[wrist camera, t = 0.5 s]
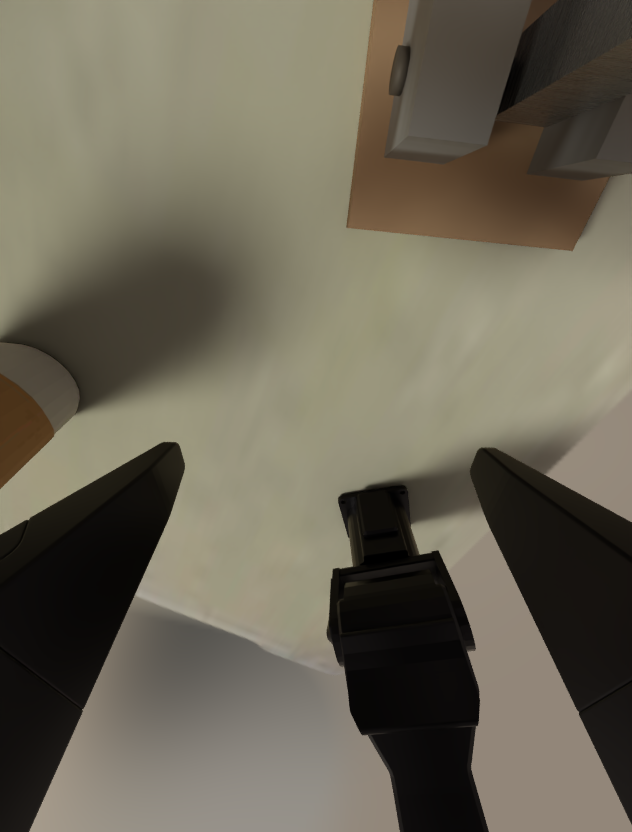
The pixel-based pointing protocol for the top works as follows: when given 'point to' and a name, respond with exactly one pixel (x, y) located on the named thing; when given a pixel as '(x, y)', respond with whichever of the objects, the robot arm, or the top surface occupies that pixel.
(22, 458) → the coffee cup
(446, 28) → the tan base plate
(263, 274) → the top surface
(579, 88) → the lever
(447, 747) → the robot arm
